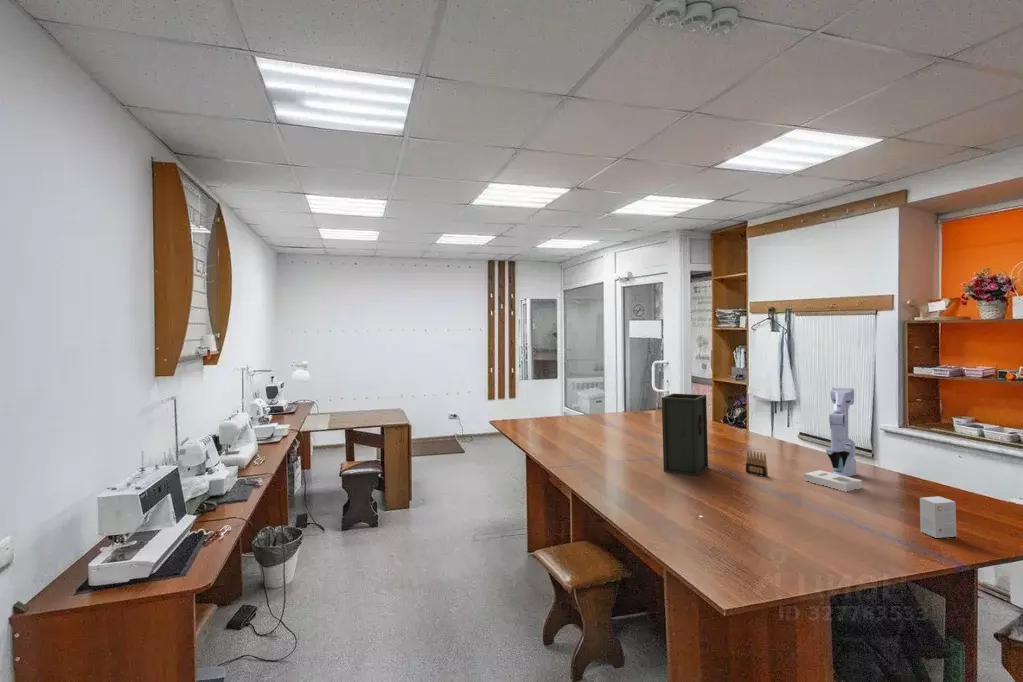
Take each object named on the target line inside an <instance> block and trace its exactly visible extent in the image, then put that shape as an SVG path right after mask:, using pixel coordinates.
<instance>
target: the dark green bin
mask: <svg viewBox="0 0 1023 682" xmlns="http://www.w3.org/2000/svg"><path fill="white" fill-rule="evenodd" d="M707 411H708V410H707V395H706V394H690V393H671V394H668V395H665V396H663V397H661V421H662V424H661V425H662V453H663V454H662V457H663V462H662V463H663V464H662V465H663V472H666V471H670V472H669V473H673V472H677V473H676V474H680V473H682V474H681V475H687V474H689V475H688V476H694V475H697V476H696V477H700V476H701V475H700V474H701V473H702V472H703V473H704V472H705V471H706V470H708V468H709V450H708V412H707ZM703 473H702V474H703Z"/></svg>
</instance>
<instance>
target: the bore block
mask: <svg viewBox="0 0 1023 682" xmlns="http://www.w3.org/2000/svg"><path fill="white" fill-rule="evenodd" d="M804 480H805V481H804ZM803 481H804V482H807V481H809V482H808V483H811V482H812V483H811V484H814V483H816V484H815V485H818V484H820V485H819V486H822V485H824V486H823V487H825V486H828V487H827V488H829V487H831V488H830V489H833V488H835V489H834V490H836V489H838V490H837V491H840V490H841V492H844V491H845V493H848V492H852V491H855V490H854V489H856V490H859V489H863V480H862V479H858V478H854V477H851V476H849V477H846V476H842V475H838V474H834V473H831V472H829V471H825V470H821V469H820V470H814V471H810V472H804V474H803ZM851 490H852V491H851ZM847 491H848V492H847Z"/></svg>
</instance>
